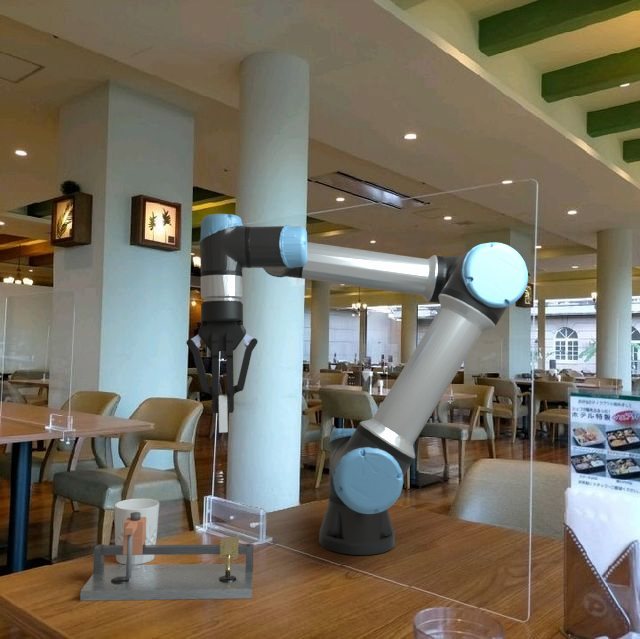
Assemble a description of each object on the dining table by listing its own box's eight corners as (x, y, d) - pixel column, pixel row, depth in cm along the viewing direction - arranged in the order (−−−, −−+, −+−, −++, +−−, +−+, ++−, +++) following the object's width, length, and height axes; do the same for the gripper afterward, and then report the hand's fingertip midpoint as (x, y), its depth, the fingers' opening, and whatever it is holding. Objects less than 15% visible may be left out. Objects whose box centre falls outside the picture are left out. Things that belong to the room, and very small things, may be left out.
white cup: (145, 568, 109) (146, 510, 110) (104, 564, 111) (106, 507, 111) (165, 553, 117) (166, 500, 117) (126, 550, 119) (128, 497, 119)
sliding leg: (144, 565, 105) (146, 510, 106) (136, 580, 99) (138, 522, 99) (126, 565, 105) (128, 510, 106) (117, 580, 99) (119, 522, 99)
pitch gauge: (252, 572, 108) (253, 534, 109) (251, 598, 97) (252, 555, 98) (99, 574, 106) (100, 534, 106) (80, 600, 95) (81, 556, 95)
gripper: (257, 301, 118) (258, 427, 117) (186, 302, 116) (187, 429, 115) (258, 299, 110) (260, 433, 110) (183, 299, 109) (185, 435, 108)
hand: (223, 431), depth 112 cm, fingers closed
